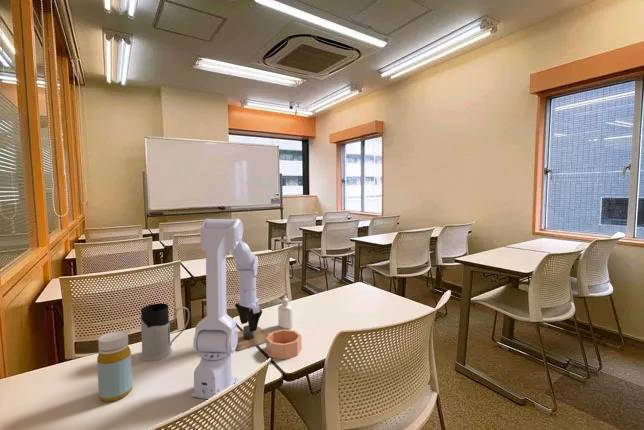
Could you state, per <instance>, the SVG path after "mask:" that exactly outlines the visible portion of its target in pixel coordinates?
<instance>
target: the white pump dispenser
mask: <svg viewBox="0 0 644 430" xmlns="http://www.w3.org/2000/svg"><path fill="white" fill-rule="evenodd" d="M277 313H278V314H277V317H278V318H277V319H278V321H277V325H278V327H280V328H281V329H285V330H291V329H292V328H293V323H294V322H293V319H294V317H293V315H294V314H293V313H294V312H293V307H292V306H291V305H289V298H288V297H287V295H284V296H283V298H282V299H281V304H280V305H279V306H278V308H277Z"/></svg>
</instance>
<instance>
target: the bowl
mask: <svg viewBox="0 0 644 430" xmlns="http://www.w3.org/2000/svg"><path fill="white" fill-rule="evenodd" d="M265 344H266V346H265V347H266V348H265V350H266V354H268V356H269V357H270V358H271V357H273V358H272V359H278V360H289V359H291V358H294V357H298V355H299V354H300V352H301V351H302V334H300V333H299V332H298V331H297V330H295V329H294V330H292V329H284V328H282V329H278V330H274V331H272V332H270V333H269V334H268V336H267V338H266V343H265Z"/></svg>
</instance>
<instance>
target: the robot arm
mask: <svg viewBox="0 0 644 430" xmlns="http://www.w3.org/2000/svg"><path fill="white" fill-rule="evenodd" d="M199 232H200V234H199V235H200V249H201V250H202V251H204V252H205V277H206V278H205V279H206V280H205V282H206V284H205V286H206V287H205V291H206V295H205V296H206V298H205V299H206V316H205V317H204V318H202V319H200V321H199V322H198V323H197V324H196V326H195V329H194V330H195V332H194V336H193V343H192V344H193V348H194V351H195V352H196V353H198V357H199V358H201V359H200V362H199V363H198V365H197V366H196V368H195V369H194V372H193V391H192V393H191V397H193V398H199V399H204V400H209V398H211V397H213V396H214V395H216V394H218V393H220V392H221V391H222V390H224V389H226V388H227V387H229V386H231V385H232V384H234V383H235V382H236V383H237V382H238V381H239V377H235V376H232V374H233V373H232V372H233V371H232V354H233V353H234V352H235V351H236V346H237V342H238V332H239V331H238V329H237V323H236V320H235V319H234V318H232V317H231V315H230V316H229V315H228V313H227V312H228V311H227V309H228V305H227V255H228V252H230V254H231V255H232V257H233V259H234V264H235V268H236V271H238V288H239V290H238V292H239V295H237V303H235V304H234V307H235V309H236V311H237V313H238V317H239V320H240V323H241V325H244V324H248V325H249V330H250V332H253V331H256V329H257V326H259V325H258V324H259V322H260V319H261V316H262V314H263V310H262V309H261V308H260V305H259V302H260V301H261V300H260V298H258V297H257V275H258V266H259V258H258V255H256V254H254V253H252V250H251V249H250V247H249V245H248V244H247V243H246V242H245V241H243V234H244V225H243V222H242V220H241V218H240V219H239V218H233V219H232V218H231V219H230V218H228V219H227V218H220V219H219V218H216V219H215V218H206V219H205V220H204V221H203V222H202V224H201V227H200V231H199ZM236 383H235V384H236ZM235 384H234V385H235Z"/></svg>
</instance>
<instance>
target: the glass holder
mask: <svg viewBox="0 0 644 430" xmlns="http://www.w3.org/2000/svg"><path fill="white" fill-rule="evenodd" d="M180 309H184V310H186V311H187V320H186V323H185V325H184V327H183V328H182V330H181V331H179V333H178V334H177V335H176V336H174V337H173V339H172V340H171V330H170V329H171V327H170V326H171V324H170V323H173V322H176V318H177V317H176V315H177V312H178V311H180ZM140 314H141V315H140V331H141V332H140V335H141V356H140V359H141V361H144V362H156V361H161V360H163V359H166V358H167V357H169V356H170V355H171V354H172V353H173V349H172V344H173V342H174V341H175V340H176V339H177V338H178V337H179V336H181V334H182V333H183V332H184V331H185V330H186V328H187V327H188V323H189V321H190V311H189V308H188V307H185V306H180V307H178V308H176V310H175V312H174V314H173V319H172V320H171V321H170V319H169V318H170V316H169V305H168V303H163V302H162V303H158V302H157V303H152V304H149V305H145V306H143V307H141V309H140Z"/></svg>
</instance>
